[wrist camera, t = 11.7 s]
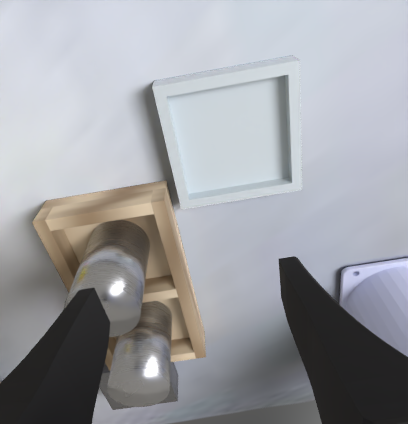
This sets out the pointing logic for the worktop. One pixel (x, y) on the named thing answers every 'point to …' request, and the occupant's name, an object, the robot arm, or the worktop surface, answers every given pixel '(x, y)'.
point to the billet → (115, 272)
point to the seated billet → (143, 359)
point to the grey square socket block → (115, 405)
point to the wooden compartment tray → (157, 262)
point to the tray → (233, 131)
